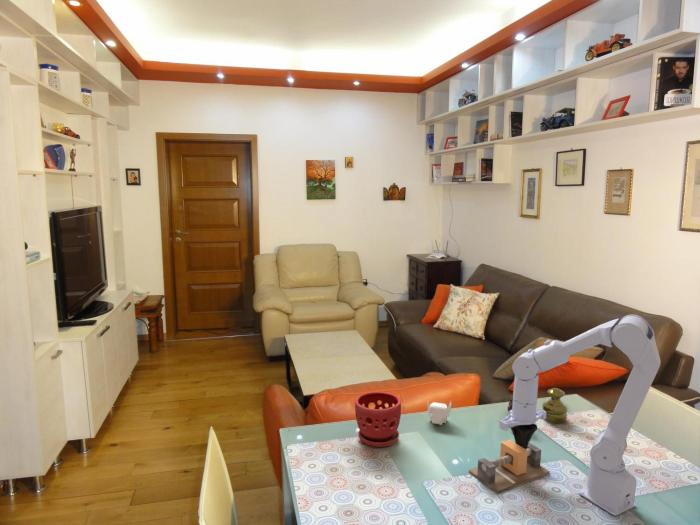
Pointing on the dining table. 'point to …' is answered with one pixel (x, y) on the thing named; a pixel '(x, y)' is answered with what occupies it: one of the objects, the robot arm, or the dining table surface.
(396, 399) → the plant pot
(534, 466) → the sliding block rail
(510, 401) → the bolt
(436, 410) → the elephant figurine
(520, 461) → the collar
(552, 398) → the olive green vase
